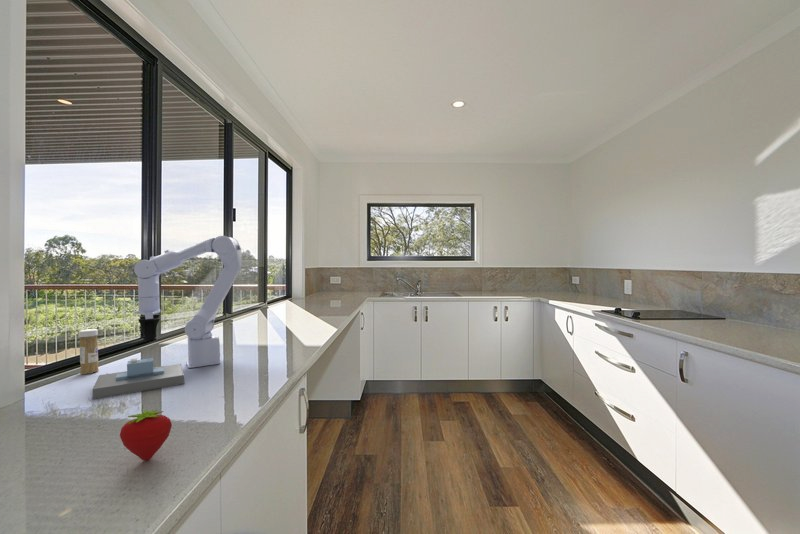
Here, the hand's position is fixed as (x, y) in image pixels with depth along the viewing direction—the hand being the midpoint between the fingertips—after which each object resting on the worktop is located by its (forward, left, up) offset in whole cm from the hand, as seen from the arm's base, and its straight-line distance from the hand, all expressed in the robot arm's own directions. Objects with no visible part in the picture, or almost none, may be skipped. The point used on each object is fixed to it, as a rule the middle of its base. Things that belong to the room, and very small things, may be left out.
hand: (150, 338), depth 122 cm
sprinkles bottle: (+16, -4, -10) cm, 19 cm away
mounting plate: (+2, +19, -9) cm, 21 cm away
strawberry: (0, +69, -10) cm, 70 cm away
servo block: (+2, +19, -9) cm, 21 cm away
